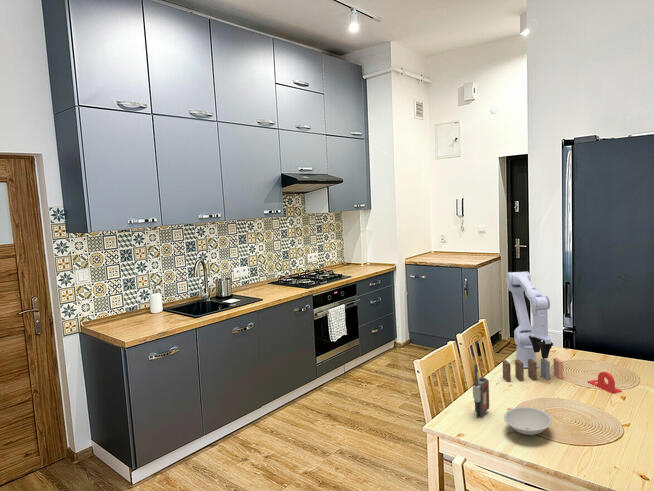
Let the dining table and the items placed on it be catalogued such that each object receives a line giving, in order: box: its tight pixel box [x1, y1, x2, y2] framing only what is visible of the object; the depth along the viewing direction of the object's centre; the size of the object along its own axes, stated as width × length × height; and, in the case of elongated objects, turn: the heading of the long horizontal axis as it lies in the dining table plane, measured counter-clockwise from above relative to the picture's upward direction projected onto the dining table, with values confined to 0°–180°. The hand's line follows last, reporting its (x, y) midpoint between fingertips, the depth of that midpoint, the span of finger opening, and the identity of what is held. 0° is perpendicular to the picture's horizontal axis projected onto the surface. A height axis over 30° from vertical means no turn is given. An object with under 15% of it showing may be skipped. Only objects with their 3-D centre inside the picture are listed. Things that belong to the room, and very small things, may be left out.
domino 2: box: [527, 359, 538, 382], centre depth 192 cm, size 2×5×8 cm, turn 178°
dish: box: [503, 406, 553, 436], centre depth 149 cm, size 18×14×5 cm
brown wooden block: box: [502, 359, 512, 383], centre depth 192 cm, size 2×5×8 cm, turn 178°
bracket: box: [586, 371, 623, 395], centre depth 179 cm, size 12×4×8 cm, turn 15°
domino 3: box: [552, 357, 564, 380], centre depth 191 cm, size 2×5×8 cm, turn 178°
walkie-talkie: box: [472, 364, 490, 418], centre depth 163 cm, size 9×4×20 cm, turn 135°
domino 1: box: [514, 359, 525, 382], centre depth 192 cm, size 2×5×8 cm, turn 178°
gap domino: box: [540, 357, 551, 381], centre depth 191 cm, size 2×5×8 cm, turn 178°
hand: (540, 355), depth 191 cm, fingers open, 7 cm apart
